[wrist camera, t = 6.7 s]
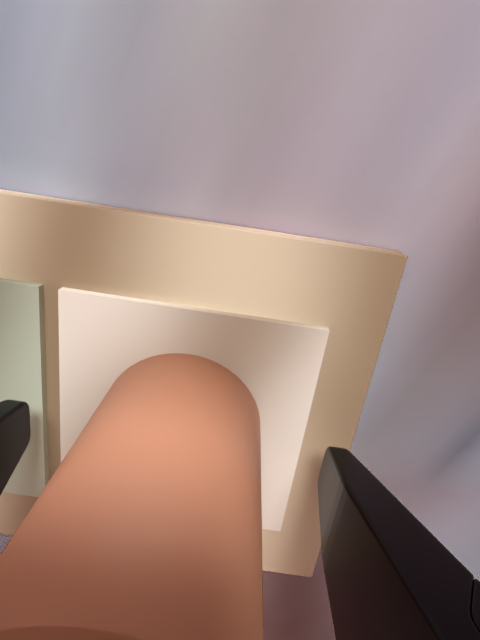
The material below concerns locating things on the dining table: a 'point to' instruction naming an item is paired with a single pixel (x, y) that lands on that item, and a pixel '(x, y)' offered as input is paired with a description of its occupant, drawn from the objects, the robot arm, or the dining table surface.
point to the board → (190, 337)
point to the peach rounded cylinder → (147, 517)
